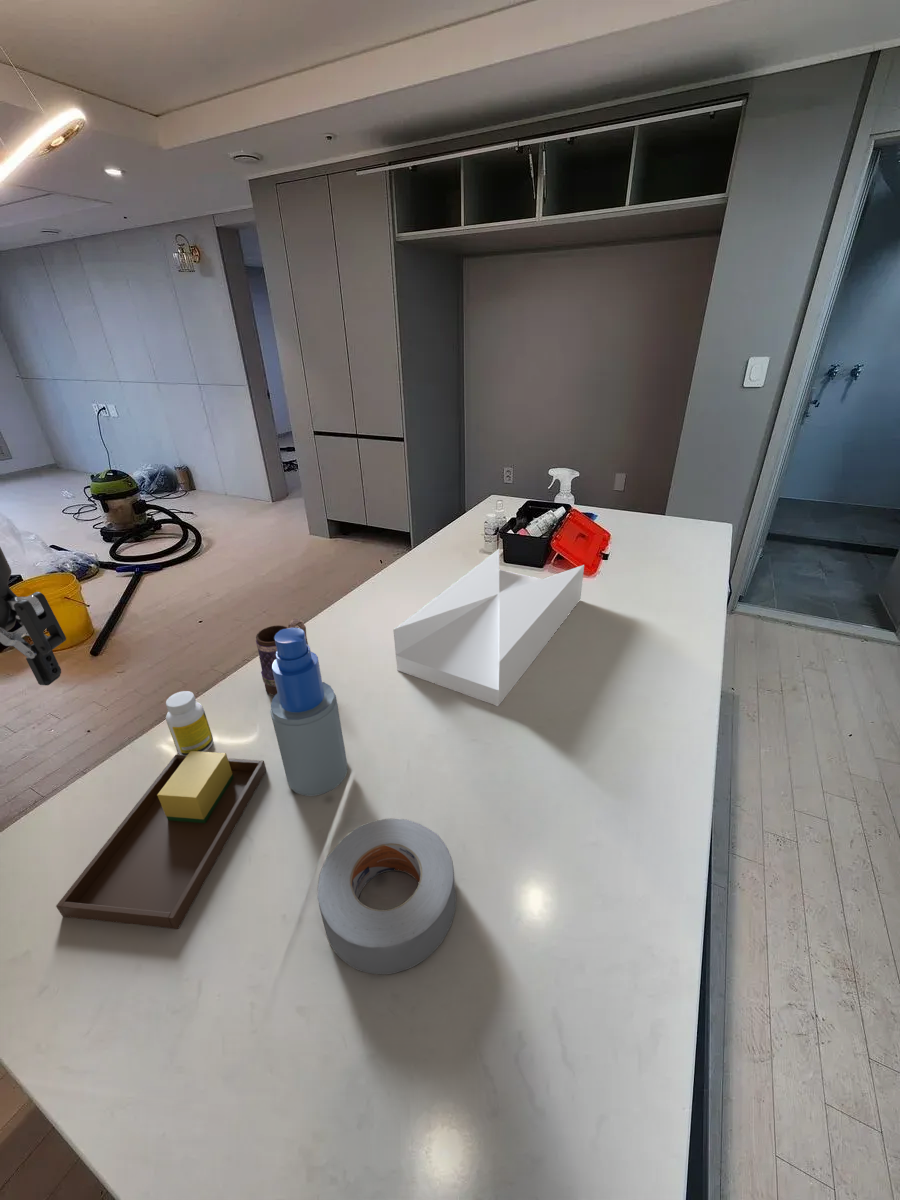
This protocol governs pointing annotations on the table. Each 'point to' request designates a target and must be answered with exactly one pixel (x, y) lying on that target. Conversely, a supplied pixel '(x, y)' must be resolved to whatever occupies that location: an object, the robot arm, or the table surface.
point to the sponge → (196, 787)
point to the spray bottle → (306, 718)
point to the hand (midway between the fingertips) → (16, 679)
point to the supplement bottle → (188, 723)
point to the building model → (485, 629)
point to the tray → (159, 856)
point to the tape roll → (401, 930)
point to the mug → (272, 651)
